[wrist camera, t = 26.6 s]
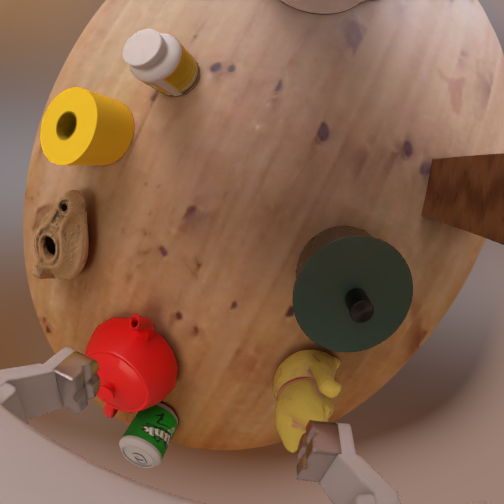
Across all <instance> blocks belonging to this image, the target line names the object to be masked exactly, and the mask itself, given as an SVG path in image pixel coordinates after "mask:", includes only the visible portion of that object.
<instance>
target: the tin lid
mask: <svg viewBox="0 0 504 504" xmlns="http://www.w3.org/2000/svg"><path fill="white" fill-rule="evenodd" d="M412 295H413V283H412V277H411V272H410V270H409V267H408V265H407V263H406V261H405V260H404V258H403V257H402V255H401V254H400V253H399V252H398V251H397V250H396V249H395V248H394V247H392V246H391V245H389V244H388V243H387V242H385V241H383V240H381V239H378V238H375V237H372V236H366V235H349V236H344V237H340V238H337V239H335V240H332V241H330V242H328V243H326V244H324V245H323V246H321V247H320V248H319V249H317V250H316V251H315V252H314V253H313V254H312V255H311V256H310V257H309V258H308V259H307V260H306V262H305V263H304V265H303V266H302V268H301V269H300V271H299V274H298V276H297V278H296V281H295V285H294V290H293V308H294V313H295V317H296V319H297V322H298V324H299V326H300V327H301V329H302V330H303V332H304V333H305V334H306V335H307V336H308V337H309V338H310V339H311V340H312V341H314V342H315V343H316V344H318V345H320V346H322V347H324V348H326V349H329V350H332V351H337V352H358V351H362V350H366V349H369V348H372V347H374V346H376V345H378V344H380V343H381V342H383V341H385V340H386V339H387V338H389V337H390V336H391V335H392V334H393V333H394V332H395V331H396V330H397V329H398V328H399V326H400V325H401V324H402V322H403V320H404V319H405V317H406V315H407V313H408V311H409V308H410V305H411V301H412Z"/></svg>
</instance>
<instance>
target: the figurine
mask: <svg viewBox="0 0 504 504" xmlns="http://www.w3.org/2000/svg"><path fill="white" fill-rule="evenodd" d="M340 364H341V362H340V360H339V359H338V358H336V357H333V356H330V355H329V354H328V353H326V352H322V351H318V350H302V351H299V352H296V353H294V354H292V355H291V356H289V357H288V358H286V359H285V360H284V361H283V362H282V363H281V365H280V366H279V367H278V369H277V371H276V373H275V376H274V379H273V391H274V396H275V399H276V401H277V403H276V409H275V425H276V428H277V431H278V433H279V435H280V437H281V439H282V442H283V444H284V446H285V448H286V449H287V450H288V451H290V452H293V453H294V452H295V451H296V450H297V449H298V445H299V441H300V439H301V436H302V434H304V433H306V426H307V424H308V422H309V421H310V420H315V421H323V422H327V421H328V420H329V419H330V416H331V415H332V413H333V411H334V405H333V402H332V401H331V399H330V398H334V397H336V396H337V395H338V394H339V393H340V390H341V388H342V387H341V384H339V383H336V382H335V380H334V376H335V374H336V369H337V368H338V367H339V366H340Z"/></svg>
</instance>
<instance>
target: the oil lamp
mask: <svg viewBox="0 0 504 504" xmlns="http://www.w3.org/2000/svg"><path fill="white" fill-rule="evenodd" d="M34 247H35V252H36V255H37V258H38V260H37V264H36V265H35V266H34V267H33V269H32V273H33V275H34V276H35V277H37V278H39V279H46V278H59V279H63V280H69V279H73V278H75V277H76V276H77V275H78V274H79V273H80V272H81V270H82V269H83V267H84V265H85V263H86V260H87V257H88V248H89V240H88V225H87V209H86V200H85V198H84V196H83V195H82V194H81V193H80V192H79V191H77V190H71V191H69V192H67V193H66V194H65V195H63V196H62V197H61V198H60V199H59V201H58V202H57V203H56V204H55V205H54V206H53V207H52V208H51V209H50V211H49V212H47V213H46V214H45V216H44V217H43V218H42V220H41V223H40V225H39V228H38V231H37V233H36V235H35V239H34Z"/></svg>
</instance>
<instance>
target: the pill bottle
mask: <svg viewBox="0 0 504 504" xmlns="http://www.w3.org/2000/svg"><path fill="white" fill-rule="evenodd" d="M123 58H124V60H125V62H126V63H127V64H129V65H130V70H131V72H132V74H133V75H134V76H135V77H136V78H137V79H139V80H140V81H142V82H144V83H145V84H147V85H149V86H151V87H152V88H154V89H156V90H158V91H159V92H161V93H163V94H165V95H168V96H179V95H182V94H185V93H187V92H188V91H189V90H191V89H192V88H193V87H194V86H195V84H196V83H197V81H198V78H199V72H200V71H199V66H198V63H197V62H196V60H195V59H194V58H193V57H192V56H191V55H190V54H189V52H188V51H187V50H186V49H185V48H184V47H183V46H182V45H181V44H180V43H179V41H178V40H177V39H176V38H174V37H173V36H171V35H168V34H163V33H158V32H157V31H155V30H153V29H144V30H141V31H138V32H136V33H135V34H133V35H132V36H131V37H130V38H129V39H128V40H127V42H126V43H125V45H124V48H123Z"/></svg>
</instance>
